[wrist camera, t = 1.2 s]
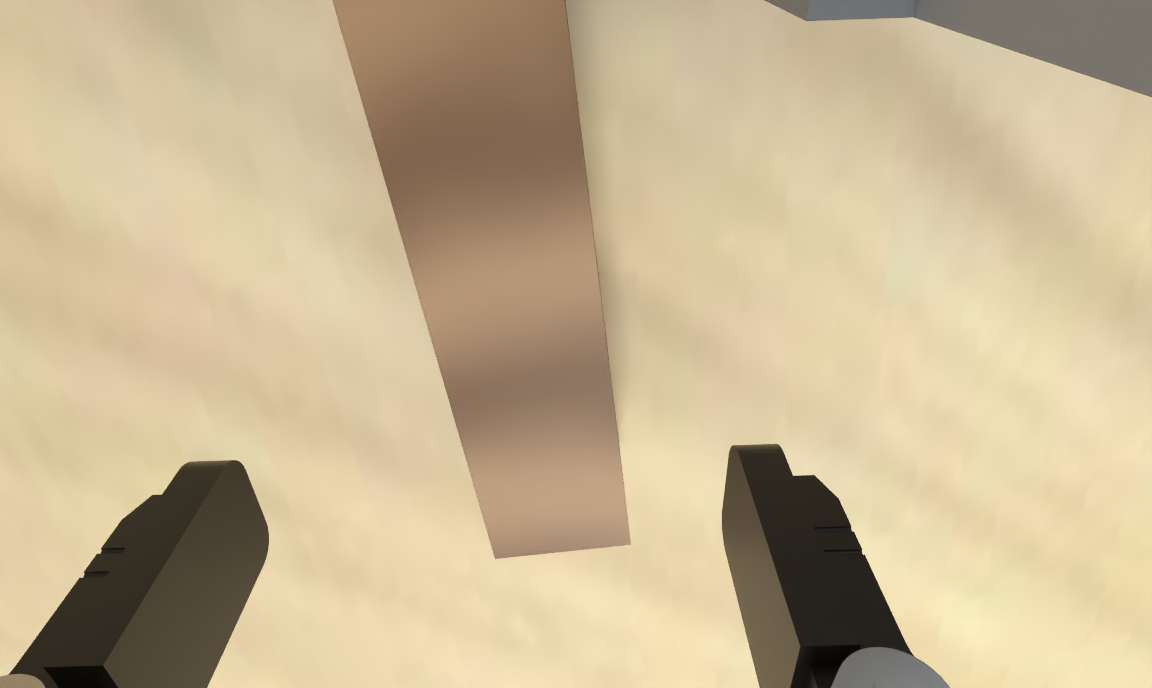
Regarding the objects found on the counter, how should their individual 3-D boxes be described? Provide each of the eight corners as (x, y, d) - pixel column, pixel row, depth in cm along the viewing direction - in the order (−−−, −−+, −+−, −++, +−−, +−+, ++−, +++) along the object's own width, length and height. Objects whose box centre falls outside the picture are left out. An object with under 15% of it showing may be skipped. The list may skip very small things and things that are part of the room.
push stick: (222, -686, 11) (39, -1007, 7) (475, -735, 10) (431, -1097, 7) (504, 454, 24) (494, 558, 20) (618, 441, 24) (630, 544, 20)
